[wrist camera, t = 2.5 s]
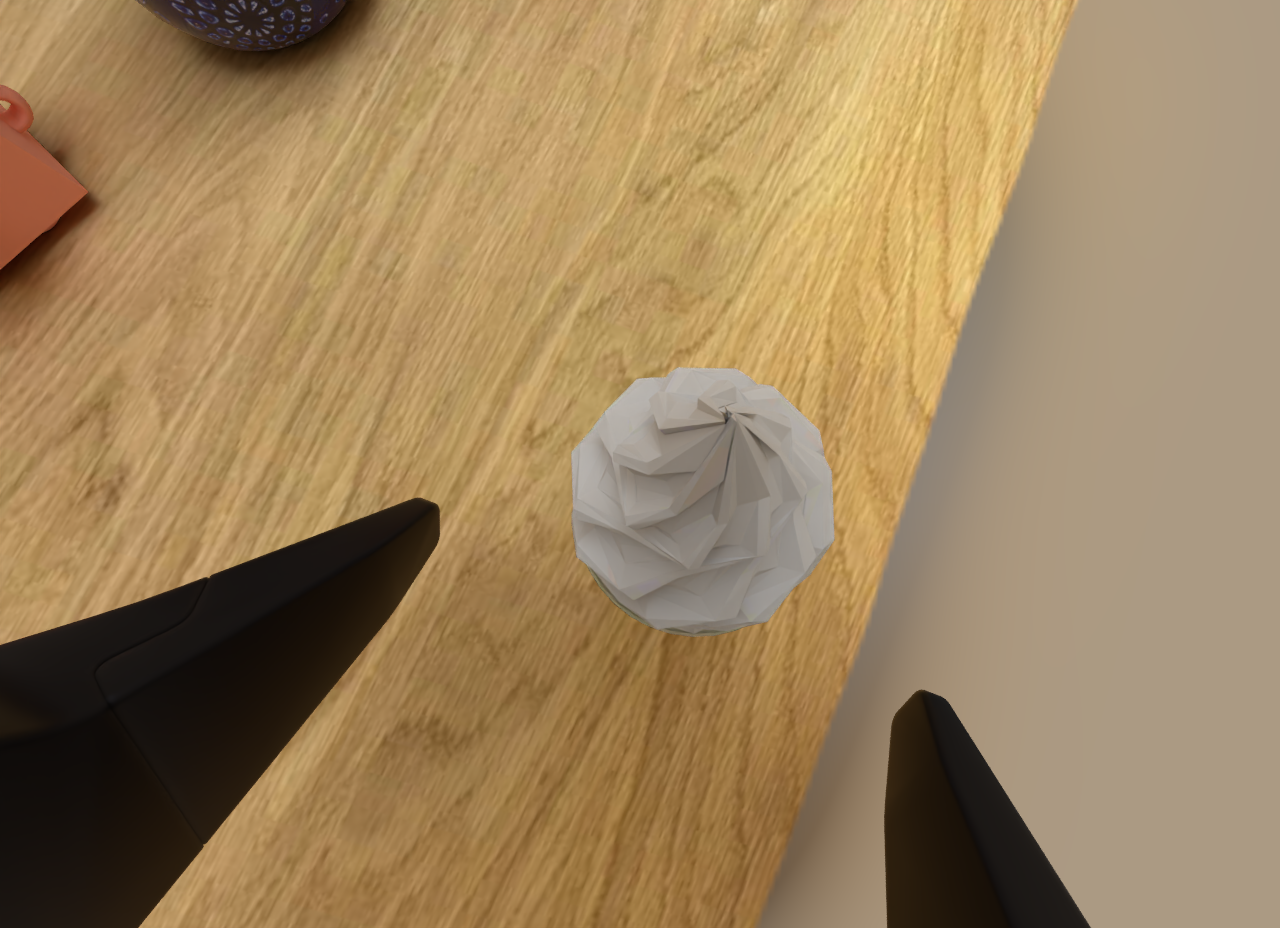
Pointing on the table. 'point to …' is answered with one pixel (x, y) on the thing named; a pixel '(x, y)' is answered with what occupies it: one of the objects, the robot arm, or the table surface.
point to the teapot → (28, 181)
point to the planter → (247, 20)
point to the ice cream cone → (701, 501)
